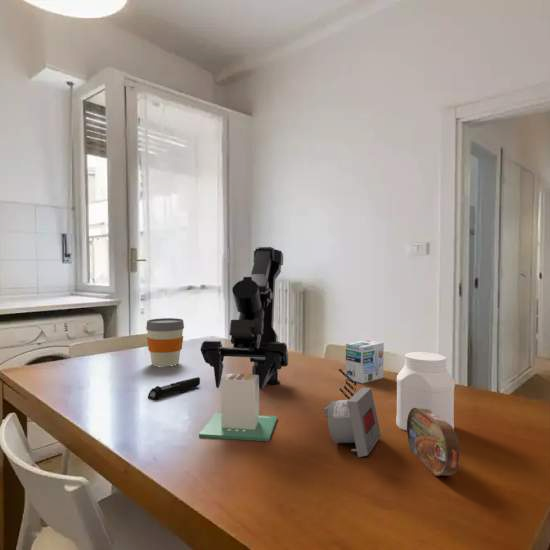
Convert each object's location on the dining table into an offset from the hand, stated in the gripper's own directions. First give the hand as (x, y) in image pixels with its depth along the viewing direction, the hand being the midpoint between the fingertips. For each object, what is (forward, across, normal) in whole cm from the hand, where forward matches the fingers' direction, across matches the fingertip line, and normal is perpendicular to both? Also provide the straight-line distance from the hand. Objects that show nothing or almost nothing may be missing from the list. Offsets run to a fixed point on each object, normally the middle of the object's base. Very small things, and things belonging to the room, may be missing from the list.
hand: (238, 388), depth 86 cm
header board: (+5, 0, +7) cm, 9 cm away
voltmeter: (+4, +23, +9) cm, 25 cm away
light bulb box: (-25, +29, +38) cm, 53 cm away
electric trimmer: (-9, -22, +22) cm, 33 cm away
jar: (+1, +38, +12) cm, 40 cm away
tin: (+13, +36, 0) cm, 38 cm away
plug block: (+5, 0, +7) cm, 8 cm away
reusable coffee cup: (-31, -38, +43) cm, 65 cm away
